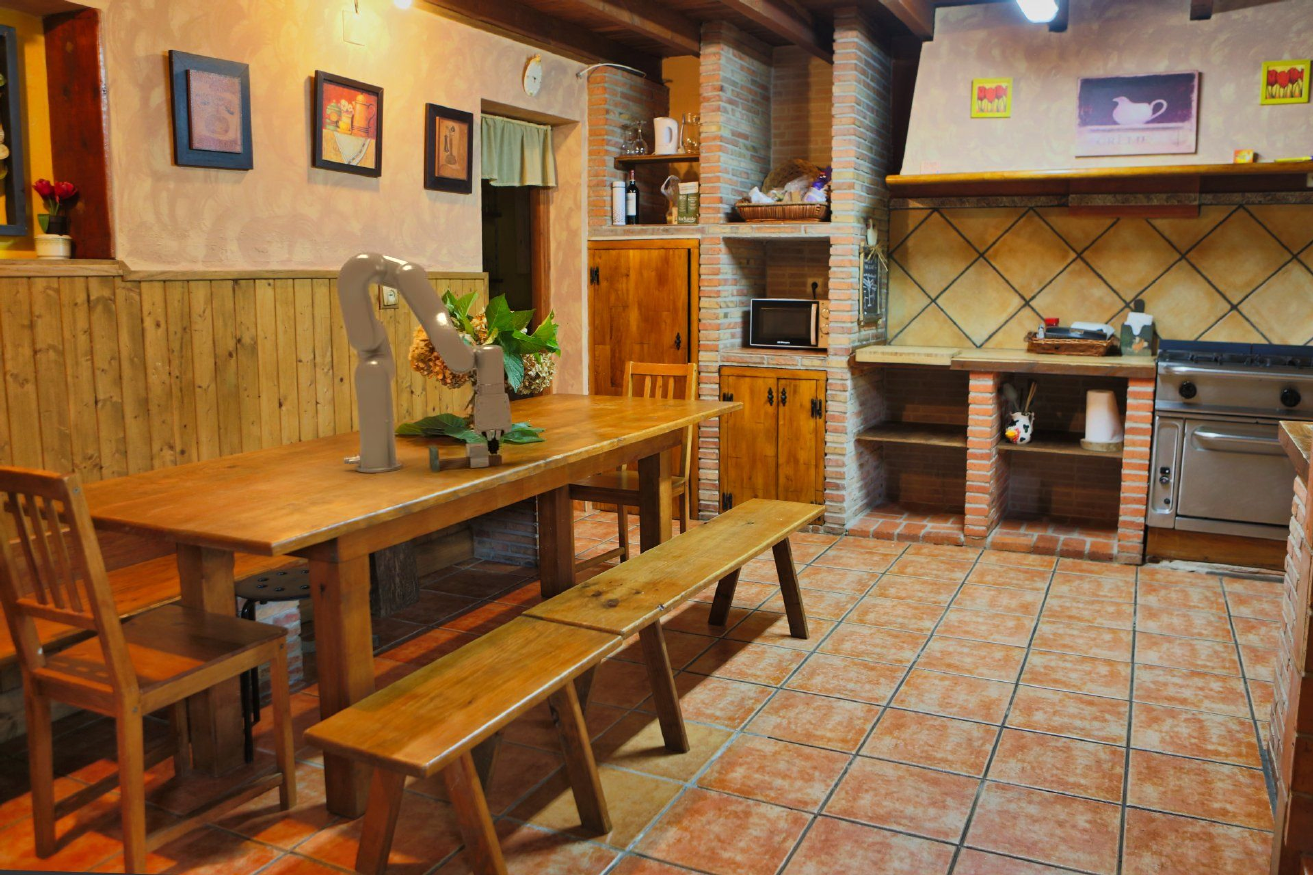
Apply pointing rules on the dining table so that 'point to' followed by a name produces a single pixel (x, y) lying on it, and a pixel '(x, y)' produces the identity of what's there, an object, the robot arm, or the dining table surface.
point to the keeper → (477, 454)
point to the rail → (456, 461)
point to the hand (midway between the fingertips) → (493, 453)
